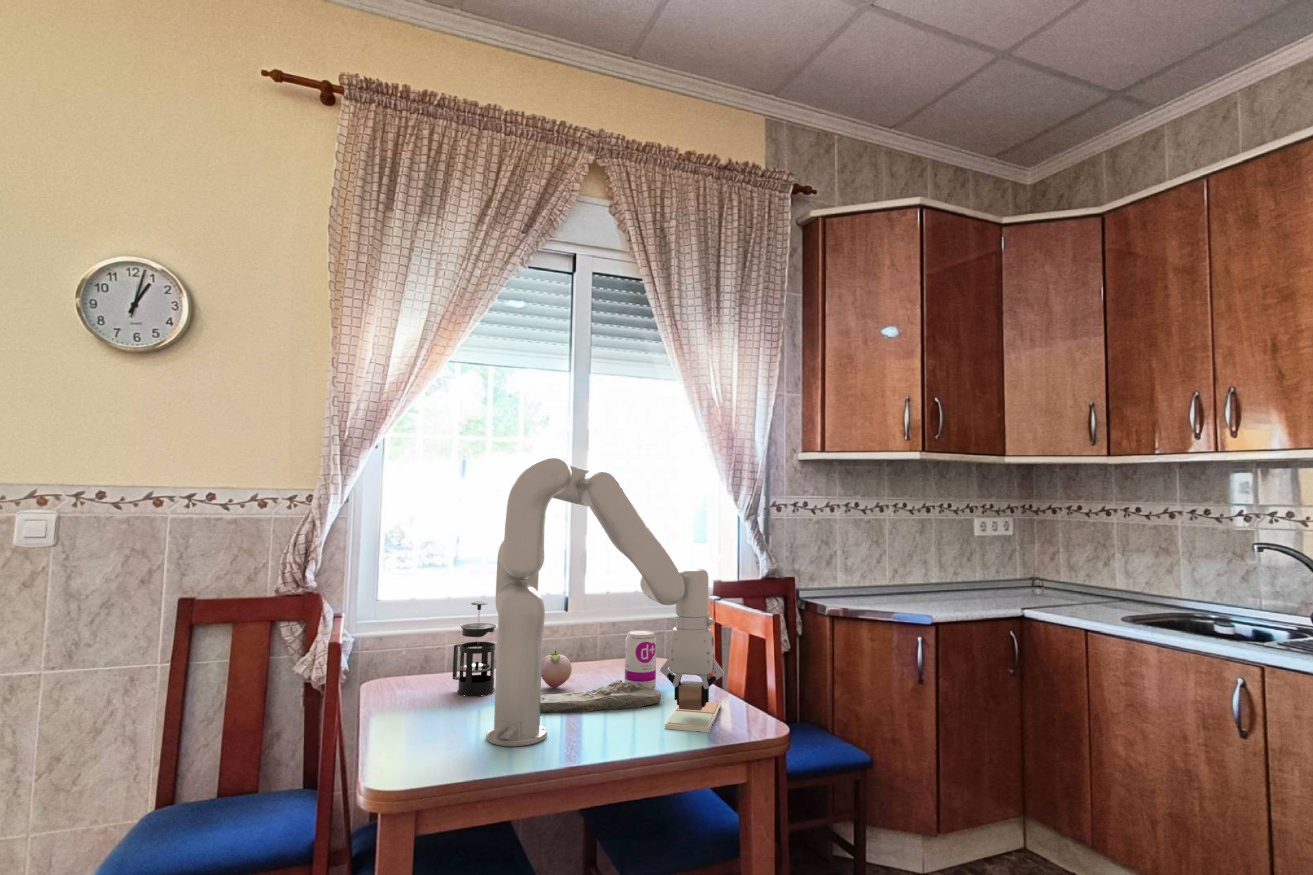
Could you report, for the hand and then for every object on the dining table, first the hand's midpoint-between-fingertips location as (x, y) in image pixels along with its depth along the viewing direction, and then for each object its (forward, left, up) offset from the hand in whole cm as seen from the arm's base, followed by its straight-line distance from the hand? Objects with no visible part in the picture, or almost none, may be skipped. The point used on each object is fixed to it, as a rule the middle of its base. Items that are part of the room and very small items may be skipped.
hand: (691, 703), depth 162 cm
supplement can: (+25, +18, -5) cm, 31 cm away
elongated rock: (+7, +26, -5) cm, 27 cm away
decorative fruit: (+20, +40, -5) cm, 45 cm away
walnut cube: (0, 0, -1) cm, 1 cm away
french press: (+11, +59, -5) cm, 60 cm away
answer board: (+5, 0, -4) cm, 7 cm away
